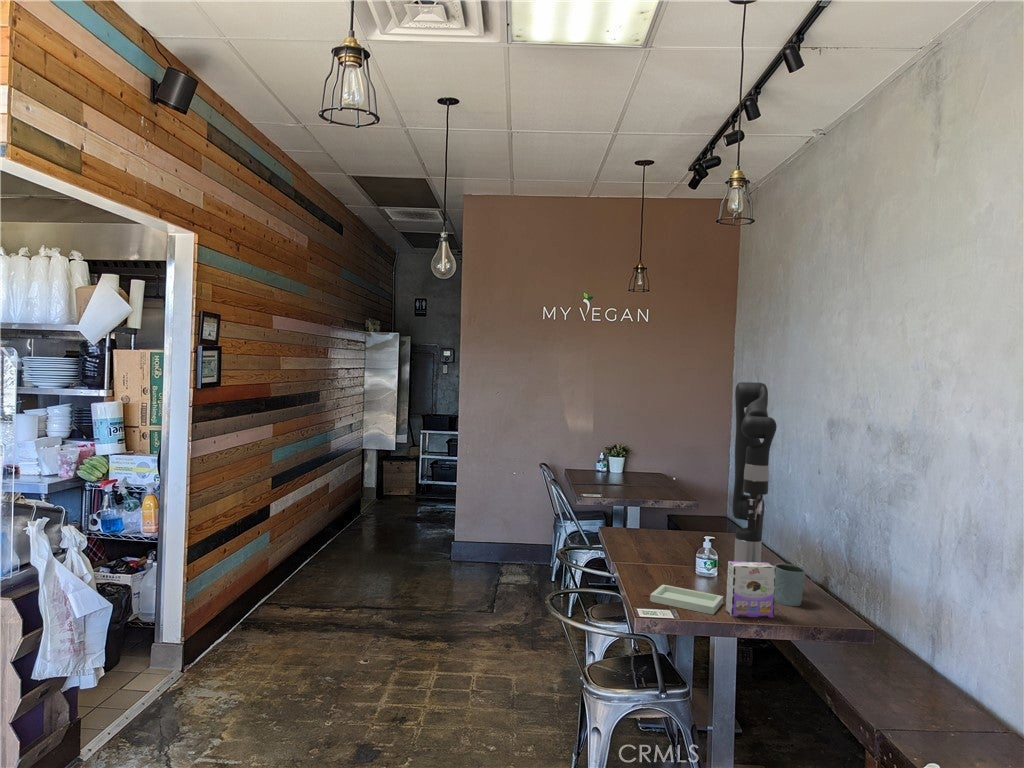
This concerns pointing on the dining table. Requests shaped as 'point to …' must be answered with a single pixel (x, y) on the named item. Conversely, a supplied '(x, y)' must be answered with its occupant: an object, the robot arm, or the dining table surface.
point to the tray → (687, 599)
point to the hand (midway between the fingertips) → (753, 528)
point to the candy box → (750, 589)
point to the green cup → (789, 584)
